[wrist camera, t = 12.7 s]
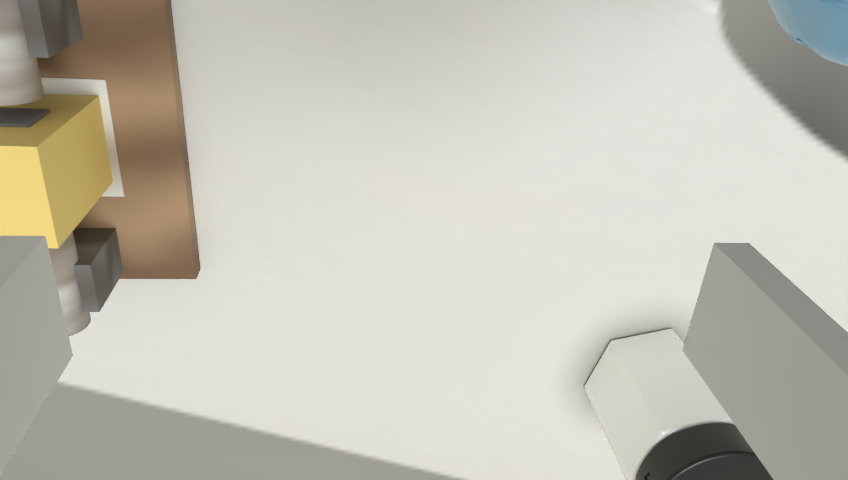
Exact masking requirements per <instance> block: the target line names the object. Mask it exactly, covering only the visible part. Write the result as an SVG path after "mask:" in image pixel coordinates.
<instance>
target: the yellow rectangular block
mask: <svg viewBox="0 0 848 480" xmlns="http://www.w3.org/2000/svg"><path fill="white" fill-rule="evenodd" d="M112 182H113V178H112V172H111V166H110V160H109V154H108V148H107V141H106V135H105V129H104V123H103V117H102V111H101V105H100V99H99V96H92V95H65V94H44V97H43V98H42V99H40V100H37V101H34V102H30V103H26V104H19V105H9V106H0V237H1V236H46V241H47V245H48V248H59V247H60V246H61V245H62V244H63V242H64V241H65V240H66V239H67V238H68V236H69V235H70V234H71V233H72V231H73V230H74V229H75V228H76V227H77V225H78V224H79V223H80V222H81V220H82V219H83V218H84V217H85V215H86V214H87V213H88V212H89V211H90V209H91V208H92V207H93V206H94V204H95V203H96V202H97V201H98V200H99V198H100V197H101V196H102V195H103V193H104V192H105V191H106V190H107V189H108V187H109V186H110V185H111V184H112Z"/></svg>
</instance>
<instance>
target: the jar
mask: <svg viewBox="0 0 848 480" xmlns="http://www.w3.org/2000/svg"><path fill="white" fill-rule="evenodd" d="M683 347H684V342H683V341H682V340H681V339H680V338H679V336H678V335H677V334H676V333H675V332H674V330H672V329H666V330H661V331H656V332H651V333H646V334H641V335H636V336H631V337H626V338H621V339H616V340H612V341H611V342H610V343H609V345H608V346H607V348H606V350H605V352H604V353H603V355H602V357H601V359H600V360H599V362H598V364H597V365H596V367H595V369H594V371H593V372H592V374H591V376H590V377H589V379H588V381H587V383H586V384H585V386H584V389H585V391H586V393H587V396H588V398H589V400H590V402H591V404H592V406H593V409H594V411H595V413H596V415H597V417H598V420H599V422H600V424H601V426H602V428H603V431H604V433H605V435H606V437H607V439H608V441H609V444H610V446H611V448H612V450H613V452H614V455H615V457H616V459H617V461H618V463H619V466H620V468H621V470H622V472H623V474H624V476H625V479H626V480H773V478H772V477H771V475H770V474H769V473H768V471H767V470H766V468H765V467H764V465H763V464H762V463H761V461H760V460H759V458H758V457H757V456H756V454H755V453H754V451H753V450H752V448H751V447H750V446H749V444H748V443H747V441H746V440H745V439H744V437H743V436H742V434H741V433H740V431H739V430H738V429H737V427H736V426H735V424H734V423H733V421H732V420H731V419H730V417H729V416H728V414H727V413H726V412H725V410H724V409H723V407H722V406H721V404H720V403H719V402H718V400H717V399H716V397H715V396H714V395H713V393H712V392H711V390H710V389H709V387H708V386H707V385H706V383H705V382H704V380H703V379H702V378H701V376H700V375H699V373H698V372H697V370H696V369H695V368H694V366H693V365H692V363H691V362H690V361H689V359H688V358H687V356H686V355H685V353H684V352H683V351H682V350H683Z"/></svg>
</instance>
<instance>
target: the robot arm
mask: <svg viewBox="0 0 848 480" xmlns="http://www.w3.org/2000/svg"><path fill="white" fill-rule="evenodd" d="M768 1H769V3H770V6H771V9H772V11H773V13H774V15H775V17H776V19H777V21H778V22H779V23H780V25H781V27H782V28H783V29H784V30H785V32H786V33H787V34H788V35H789V36H790V37H791V38H792V39H793V40H795V41H796V42H799V43H801V44H803V45H805V46H808V47H810V48H811V49H812V50H813V51H814V52H815V53H818V54H819V55H820V56H822V57H823V58H825V59H827V60H830V61H832V62H835V63H838V64H842V65H845V66H848V0H768ZM682 351H683V352H684V353H685V355H686V356H687V358H688V359H689V361H690V362H691V363H692V365H693V366H694V368H695V369H696V370H697V372H698V373H699V375H700V376H701V378H702V379H703V380H704V382H705V383H706V385H707V386H708V387H709V389H710V390H711V392H712V393H713V395H714V396H715V397H716V399H717V400H718V402H719V403H720V404H721V406H722V407H723V409H724V410H725V412H726V413H727V414H728V416H729V417H730V419H731V420H732V421H733V423H734V424H735V426H736V427H737V429H738V430H739V431H740V433H741V434H742V436H743V437H744V439H745V440H746V441H747V443H748V444H749V446H750V447H751V448H752V450H753V451H754V453H755V454H756V456H757V457H758V458H759V460H760V461H761V463H762V464H763V465H764V467H765V468H766V470H767V471H768V473H769V474H770V475H771V477H772V478H773V480H848V333H847V332H846V331H845V330H844V329H843V328H842V327H841V326H840V325H839V324H837V323H836V322H835V321H834V320H833V319H832V318H831V317H830V316H829V315H827V314H826V313H825V312H824V311H823V310H822V309H821V308H820V307H819V306H818V305H816V304H815V303H814V302H813V301H812V300H811V299H810V298H809V297H808V296H807V295H805V294H804V293H803V292H802V291H801V290H800V289H799V288H798V287H797V286H795V285H794V284H793V283H792V282H791V281H790V280H789V279H788V278H787V277H786V276H784V275H783V274H782V273H781V272H780V271H779V270H778V269H777V268H776V267H775V266H773V265H772V264H771V263H770V262H769V261H768V260H767V259H766V258H765V257H763V256H762V255H761V254H760V253H759V252H758V251H757V250H756V249H755V248H754V247H752V246H751V245H750V244H749V243H714V245H713V249H712V252H711V255H710V259H709V262H708V266H707V269H706V272H705V276H704V279H703V282H702V286H701V289H700V293H699V296H698V299H697V303H696V306H695V309H694V313H693V316H692V320H691V323H690V326H689V330H688V333H687V336H686V340H685V343H684V347H683V350H682ZM72 356H73V354H72V350H71V346H70V341H69V337H68V332H67V328H66V324H65V319H64V315H63V311H62V306H61V302H60V297H59V293H58V289H57V284H56V280H55V276H54V271H53V267H52V262H51V258H50V254H49V249H48V245H47V241H46V236H1V237H0V476H1V474H2V472H3V470H4V469H5V467H6V466H7V463H8V462H9V461H10V459H11V457H12V456H13V454H14V452H15V451H16V449H17V447H18V446H19V444H20V442H21V441H22V439H23V437H24V435H25V434H26V432H27V431H28V429H29V427H30V426H31V424H32V422H33V421H34V419H35V417H36V416H37V414H38V412H39V411H40V409H41V407H42V406H43V404H44V402H45V401H46V399H47V397H48V396H49V394H50V392H51V391H52V389H53V387H54V386H55V384H56V382H57V381H58V379H59V377H60V376H61V374H62V372H63V371H64V369H65V367H66V366H67V364H68V362H69V361H70V359H71V357H72Z"/></svg>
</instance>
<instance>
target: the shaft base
mask: <svg viewBox="0 0 848 480" xmlns="http://www.w3.org/2000/svg"><path fill="white" fill-rule="evenodd" d="M44 94H65V95H92V96H99V99H100V105H101V111H102V117H103V123H104V129H105V135H106V141H107V148H108V154H109V160H110V166H111V172H112V178H113V182H112V184H111V185H110V186H109V187H108V189H107V190H106V191H105V192H104V193H103V195H102V196H101V197H100V198H99V200H98V201H97V202H96V203H95V204H94V206H93V207H92V208H91V209H90V211H89V212H88V213H87V214H86V215H85V217H84V218H83V219H82V220H81V222H80V223H79V224H78V225H77V227H76V228H75V229H74V230H73V231H72V233H71V234H70V235H69V236H68V238H67V239H66V240H65V241H64V242H63V244H62V245H61V246H60V247H59V248H48V249H49V254H50V258H51V262H52V267H53V271H54V276H55V280H56V284H57V289H58V293H59V297H60V302H61V306H62V311H63V315H64V319H65V324H66V328H67V332H68V336H71V335H74V334H76V333H78V332H80V331H82V330H83V329H85V328H86V327H87V326H88V325H89V323H90V321H91V318H90V313H89V312H100V310H101V308H102V307H103V305H104V303H105V302H106V300H107V298H108V297H109V295H110V293H111V292H112V290H113V288H114V287H115V285H116V283H117V282H118V280H119V279H196V278H197V276H198V273H199V271H200V263H199V254H198V245H197V236H196V227H195V218H194V209H193V200H192V191H191V182H190V172H189V163H188V154H187V145H186V136H185V127H184V118H183V109H182V100H181V91H180V82H179V73H178V64H177V55H176V46H175V37H174V28H173V19H172V10H171V1H170V0H0V106H9V105H19V104H26V103H30V102H34V101H37V100H40V99H42V98H43V97H44Z"/></svg>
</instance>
